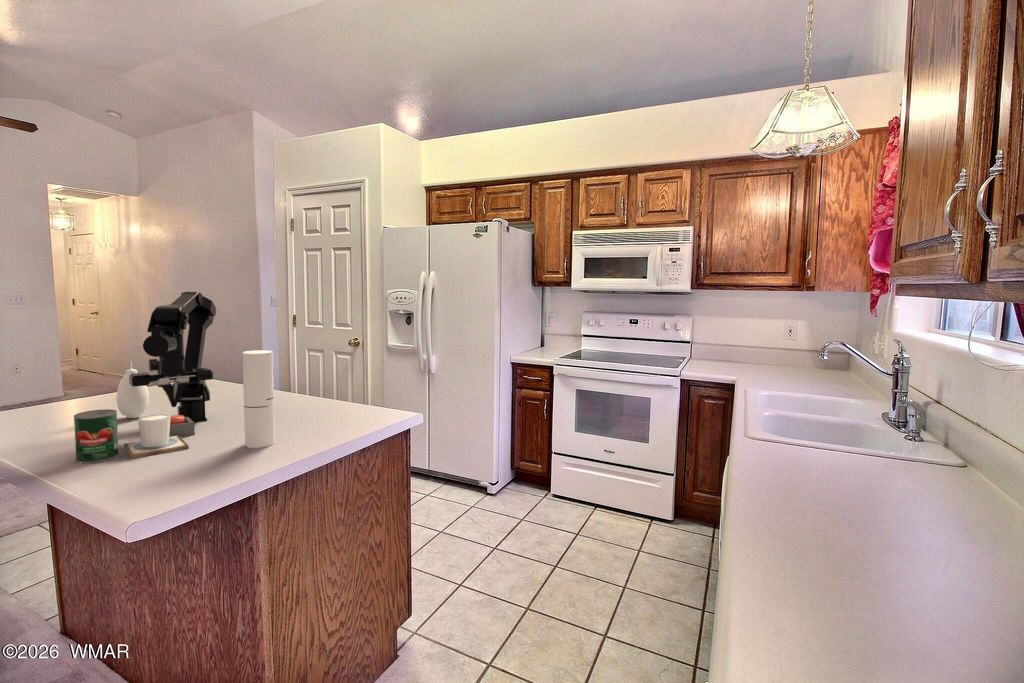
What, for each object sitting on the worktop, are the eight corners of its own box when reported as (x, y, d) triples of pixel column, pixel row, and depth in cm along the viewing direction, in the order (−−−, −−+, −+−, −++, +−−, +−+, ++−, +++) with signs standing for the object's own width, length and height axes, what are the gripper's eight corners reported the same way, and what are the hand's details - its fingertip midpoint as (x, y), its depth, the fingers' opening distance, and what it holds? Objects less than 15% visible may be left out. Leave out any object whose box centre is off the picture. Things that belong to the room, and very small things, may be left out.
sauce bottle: (136, 421, 149) (133, 363, 147) (111, 420, 149) (108, 362, 147) (155, 415, 157) (152, 359, 155) (131, 414, 157) (128, 359, 155)
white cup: (158, 448, 122) (157, 421, 122) (132, 447, 122) (130, 420, 122) (178, 440, 129) (177, 414, 128) (152, 439, 129) (151, 413, 129)
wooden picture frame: (178, 437, 134) (178, 434, 134) (188, 448, 126) (188, 444, 126) (123, 446, 126) (123, 442, 126) (130, 458, 117) (130, 454, 117)
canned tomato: (83, 466, 112) (80, 419, 111) (70, 458, 116) (67, 413, 115) (124, 456, 119) (122, 412, 118) (111, 450, 123) (109, 407, 122)
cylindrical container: (280, 441, 134) (279, 351, 131) (259, 449, 127) (257, 354, 124) (260, 438, 136) (258, 349, 133) (238, 445, 129) (236, 352, 127)
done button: (182, 421, 141) (182, 414, 141) (186, 424, 138) (186, 417, 137) (162, 423, 138) (162, 416, 137) (165, 427, 134) (165, 420, 134)
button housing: (188, 428, 144) (187, 416, 143) (194, 434, 138) (194, 422, 138) (154, 433, 138) (154, 421, 138) (160, 439, 132) (159, 427, 132)
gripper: (202, 347, 148) (204, 397, 149) (125, 351, 135) (127, 406, 136) (212, 351, 140) (214, 404, 142) (130, 355, 127) (133, 414, 128)
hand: (173, 406), depth 137 cm, fingers closed
